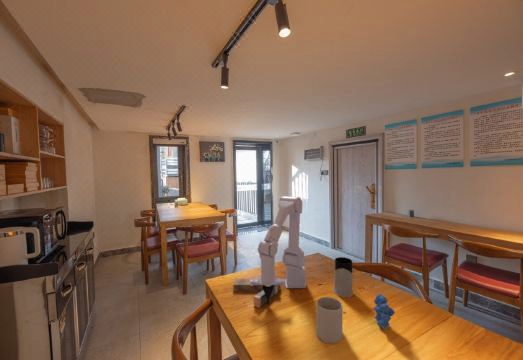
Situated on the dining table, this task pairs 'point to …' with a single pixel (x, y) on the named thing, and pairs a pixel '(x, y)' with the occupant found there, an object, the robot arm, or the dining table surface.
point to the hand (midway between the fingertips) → (268, 301)
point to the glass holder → (343, 277)
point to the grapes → (382, 311)
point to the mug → (329, 320)
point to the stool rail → (247, 285)
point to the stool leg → (264, 297)
